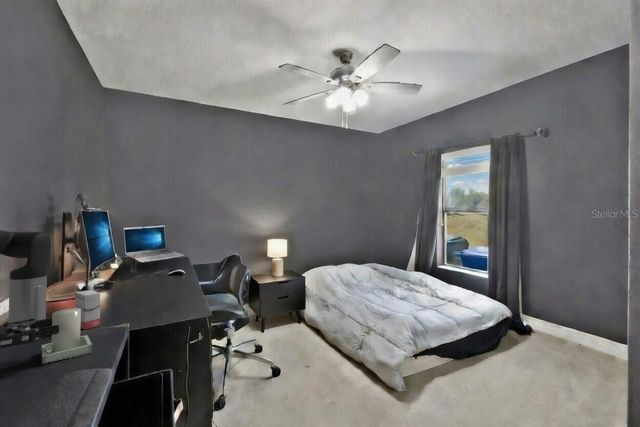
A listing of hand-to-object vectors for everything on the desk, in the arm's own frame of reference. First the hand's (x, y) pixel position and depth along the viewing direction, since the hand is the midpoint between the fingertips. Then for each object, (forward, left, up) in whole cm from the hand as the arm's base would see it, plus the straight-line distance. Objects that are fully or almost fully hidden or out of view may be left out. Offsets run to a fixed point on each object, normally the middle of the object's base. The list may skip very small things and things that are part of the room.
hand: (57, 324), depth 79 cm
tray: (0, +2, -8) cm, 9 cm away
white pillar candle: (0, +2, -8) cm, 8 cm away
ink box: (-23, +9, -8) cm, 26 cm away
